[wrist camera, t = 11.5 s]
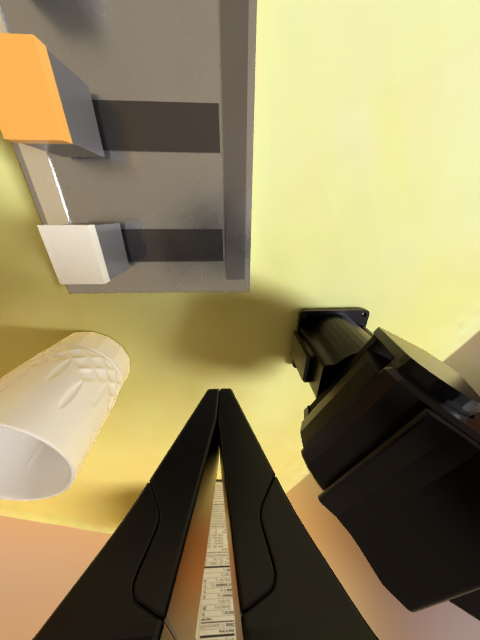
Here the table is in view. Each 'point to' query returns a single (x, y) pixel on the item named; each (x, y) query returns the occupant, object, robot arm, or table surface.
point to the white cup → (56, 413)
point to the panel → (154, 135)
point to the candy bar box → (216, 579)
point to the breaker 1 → (44, 101)
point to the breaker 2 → (85, 251)
